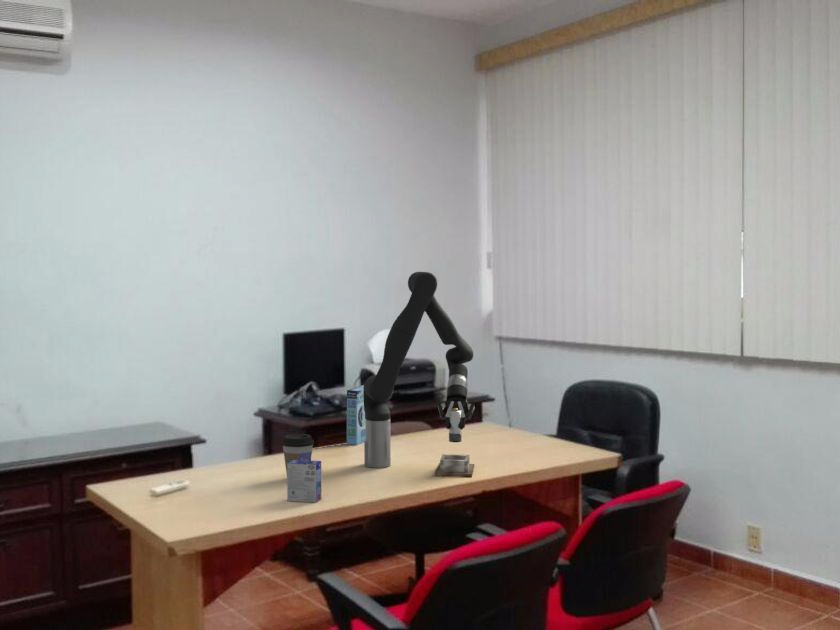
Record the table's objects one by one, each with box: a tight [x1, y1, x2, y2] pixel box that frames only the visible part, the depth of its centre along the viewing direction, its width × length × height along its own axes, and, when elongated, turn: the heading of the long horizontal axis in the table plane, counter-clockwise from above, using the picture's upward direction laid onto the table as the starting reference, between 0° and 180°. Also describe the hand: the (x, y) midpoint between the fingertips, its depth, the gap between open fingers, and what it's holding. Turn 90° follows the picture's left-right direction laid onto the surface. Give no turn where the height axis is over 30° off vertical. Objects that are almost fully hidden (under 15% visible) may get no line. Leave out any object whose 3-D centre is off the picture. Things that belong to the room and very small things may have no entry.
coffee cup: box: [281, 433, 315, 474], centre depth 297 cm, size 11×11×15 cm
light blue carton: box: [346, 384, 366, 446], centre depth 364 cm, size 20×5×23 cm, turn 161°
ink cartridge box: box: [286, 453, 322, 503], centre depth 270 cm, size 10×6×14 cm, turn 78°
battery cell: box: [448, 408, 463, 443], centre depth 308 cm, size 4×4×12 cm
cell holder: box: [434, 453, 475, 478], centre depth 308 cm, size 13×16×5 cm
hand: (454, 428), depth 306 cm, fingers closed on battery cell, 4 cm apart
